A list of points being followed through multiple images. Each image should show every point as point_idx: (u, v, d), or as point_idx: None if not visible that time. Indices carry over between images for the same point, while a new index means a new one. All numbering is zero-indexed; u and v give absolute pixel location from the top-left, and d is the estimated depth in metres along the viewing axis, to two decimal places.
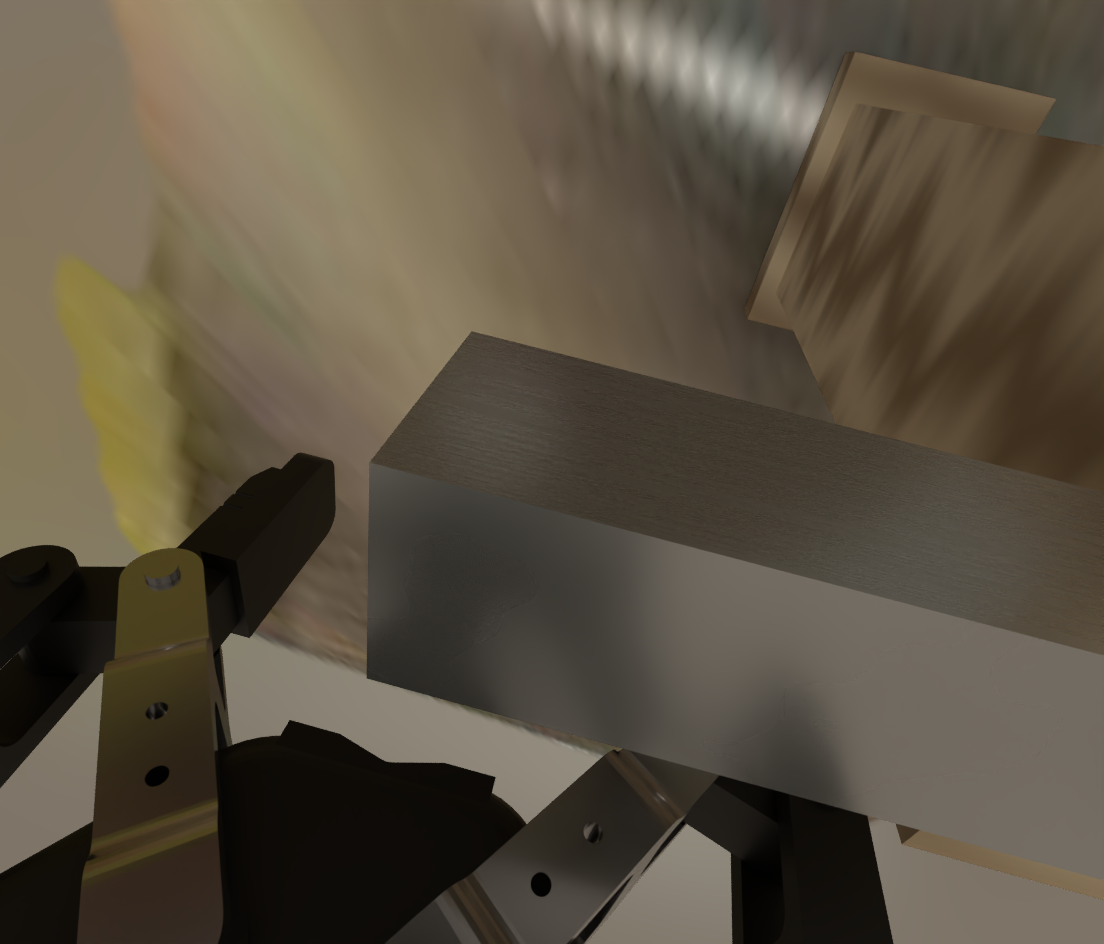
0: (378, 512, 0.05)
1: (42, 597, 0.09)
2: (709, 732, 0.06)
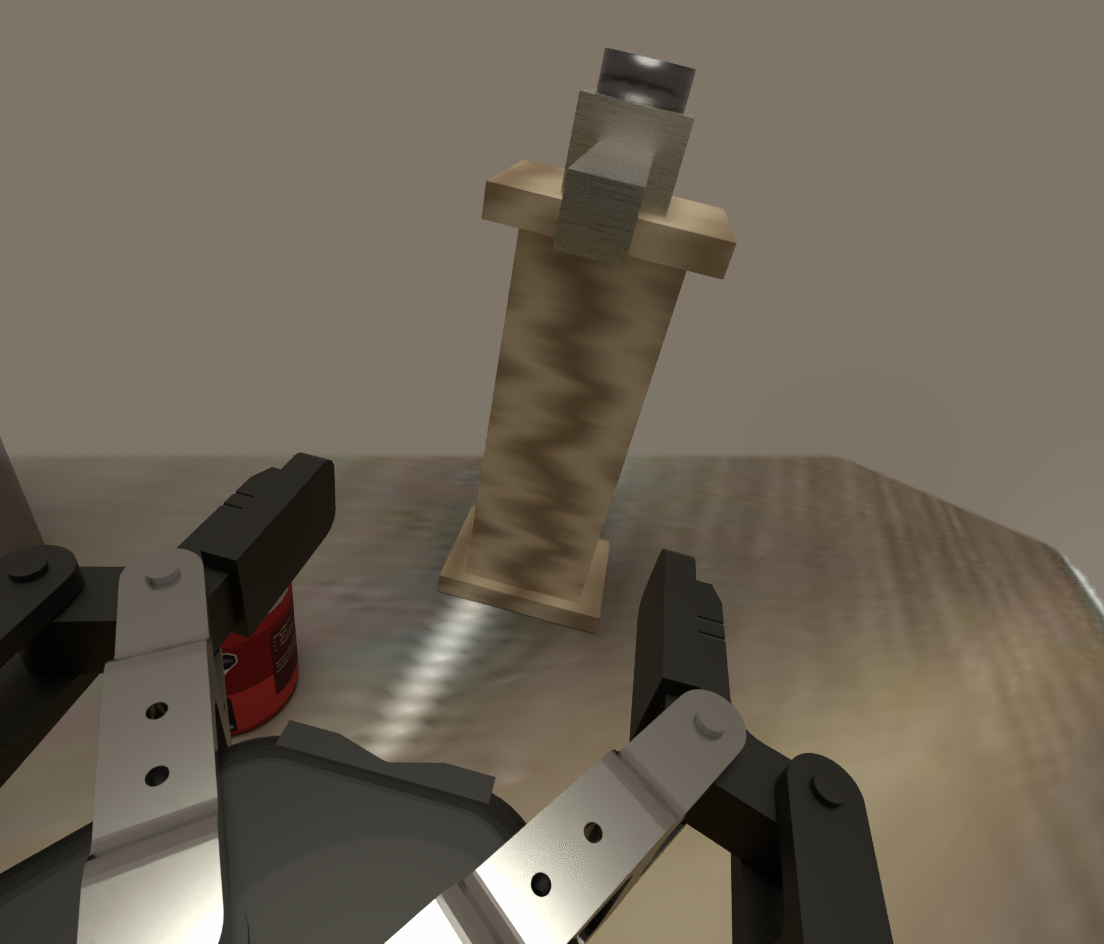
0: (581, 171, 0.22)
1: (42, 597, 0.09)
2: (633, 170, 0.25)
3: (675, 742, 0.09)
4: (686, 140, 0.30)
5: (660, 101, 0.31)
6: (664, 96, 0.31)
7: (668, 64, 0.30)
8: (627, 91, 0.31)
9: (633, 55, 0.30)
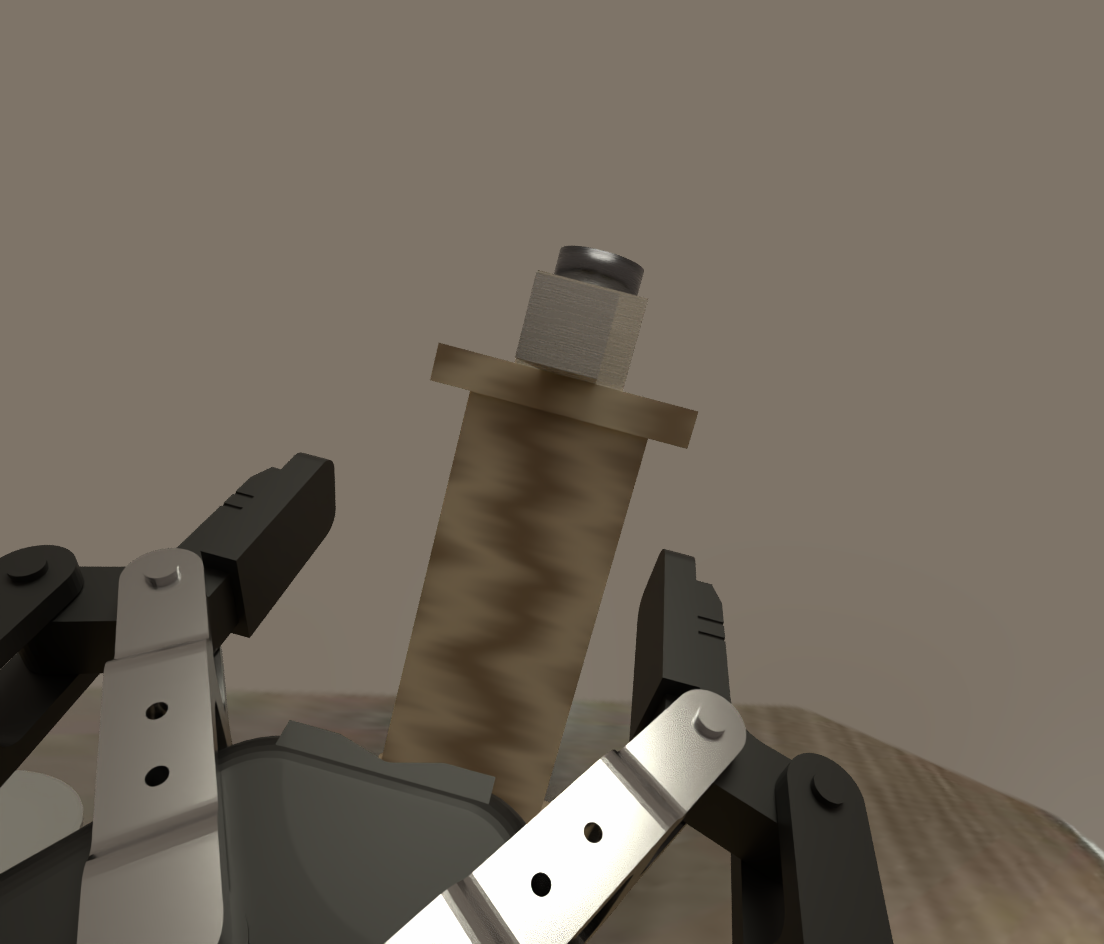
0: (550, 276, 0.20)
1: (42, 597, 0.09)
2: None
3: (675, 742, 0.09)
4: (641, 317, 0.31)
5: (614, 287, 0.32)
6: (617, 284, 0.32)
7: (620, 257, 0.32)
8: (582, 277, 0.32)
9: (588, 248, 0.32)
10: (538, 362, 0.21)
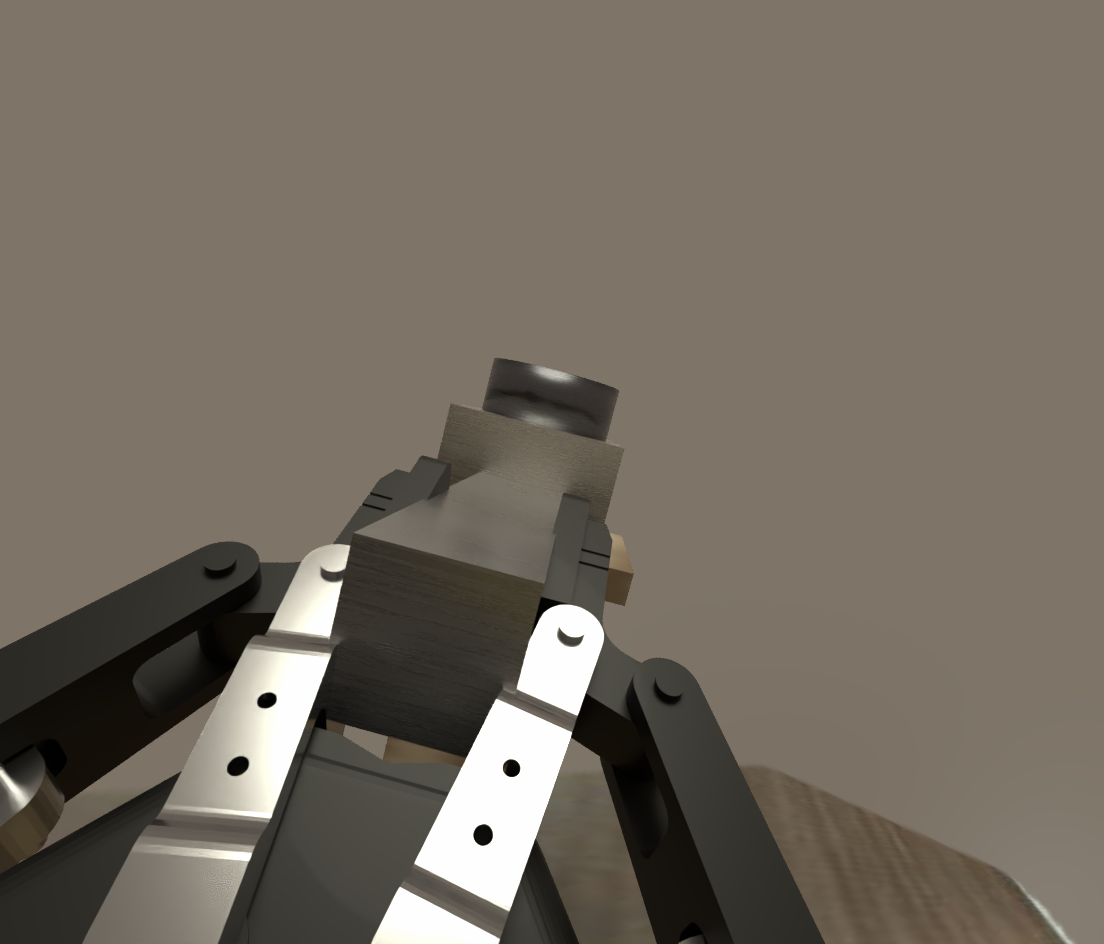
0: (388, 540, 0.09)
1: (237, 590, 0.10)
2: (524, 528, 0.13)
3: (534, 645, 0.10)
4: (614, 476, 0.20)
5: (572, 424, 0.21)
6: (577, 418, 0.21)
7: (581, 379, 0.21)
8: (523, 409, 0.21)
9: (531, 366, 0.21)
10: (364, 726, 0.09)
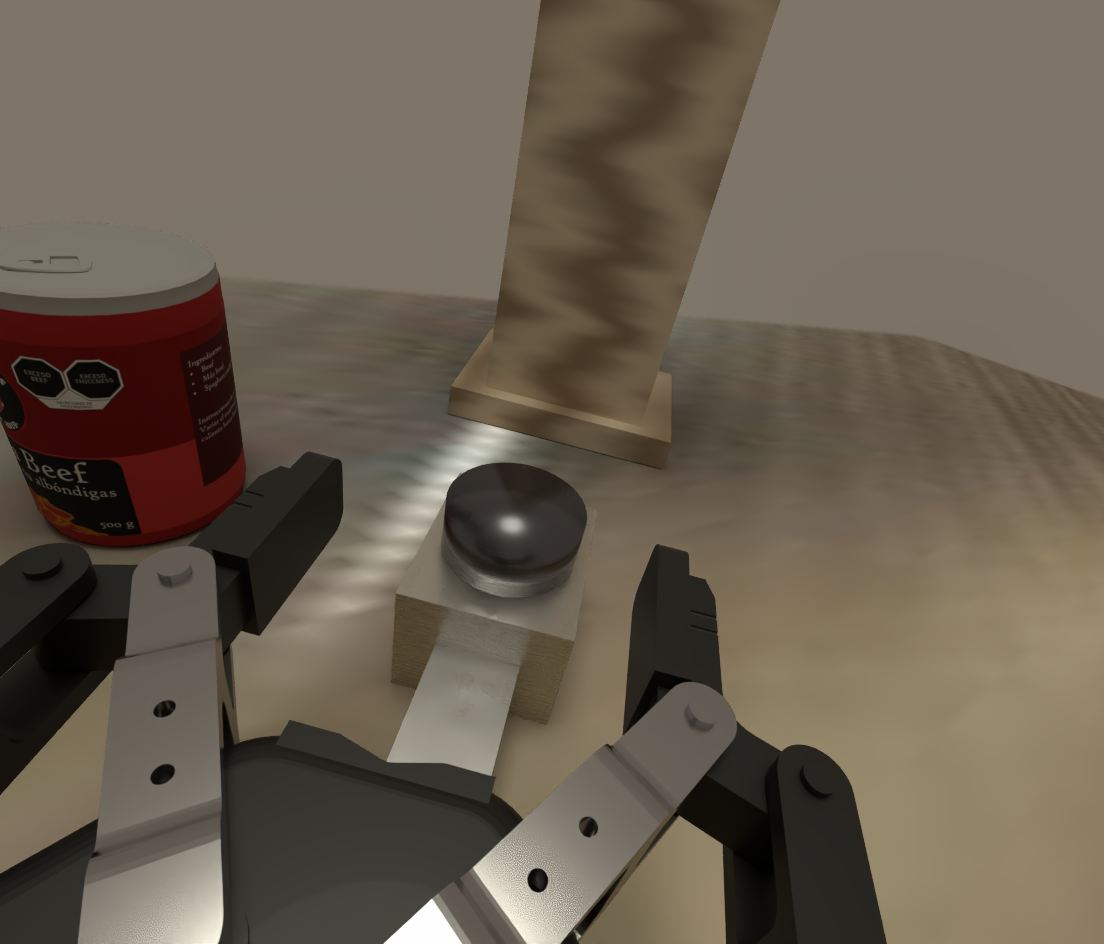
0: None
1: (57, 595, 0.09)
2: None
3: (666, 733, 0.09)
4: (566, 659, 0.20)
5: (527, 591, 0.20)
6: (533, 585, 0.20)
7: (533, 557, 0.19)
8: (475, 578, 0.20)
9: (477, 544, 0.19)
10: None
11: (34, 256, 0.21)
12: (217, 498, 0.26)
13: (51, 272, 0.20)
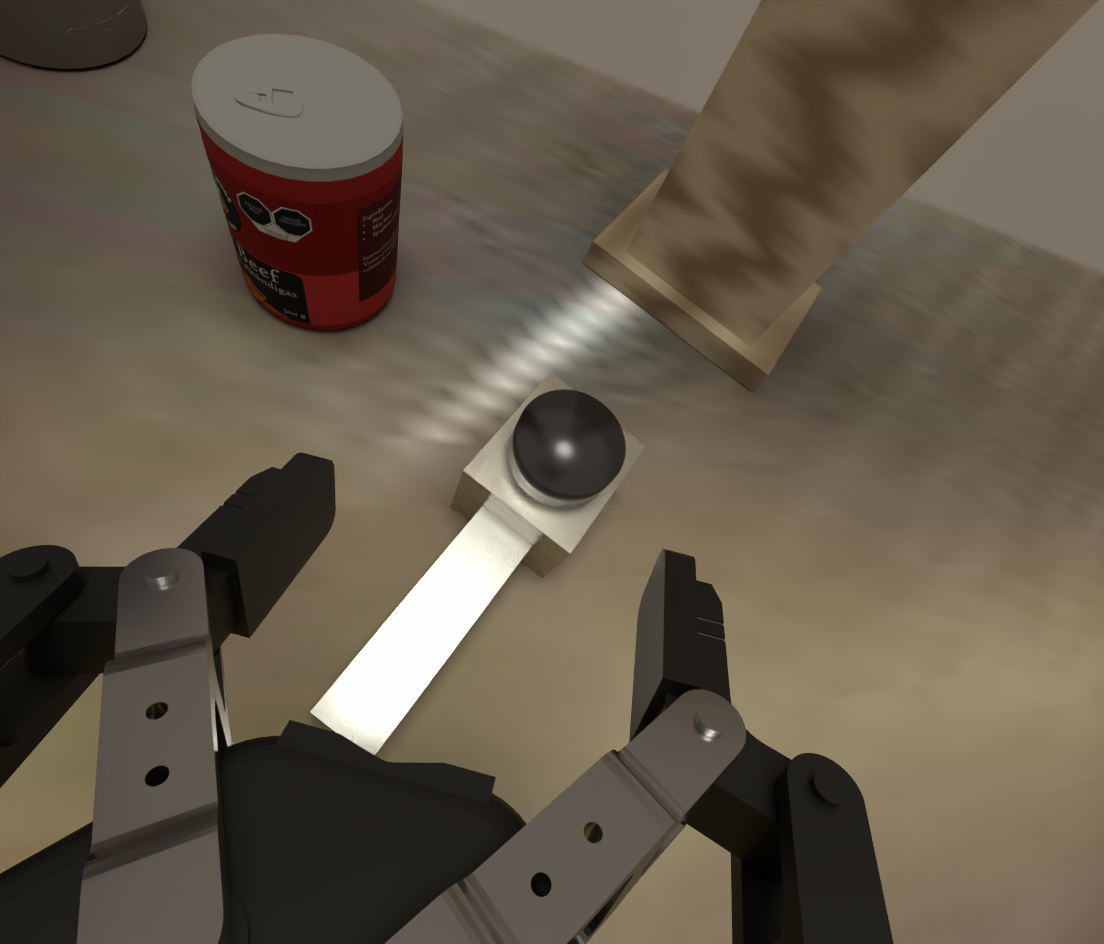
0: (322, 718, 0.23)
1: (42, 597, 0.09)
2: (419, 667, 0.24)
3: (675, 742, 0.09)
4: (562, 558, 0.27)
5: (554, 504, 0.26)
6: (559, 503, 0.26)
7: (562, 491, 0.25)
8: (521, 481, 0.26)
9: (527, 466, 0.25)
10: None
11: (260, 87, 0.24)
12: (367, 309, 0.32)
13: (272, 113, 0.23)
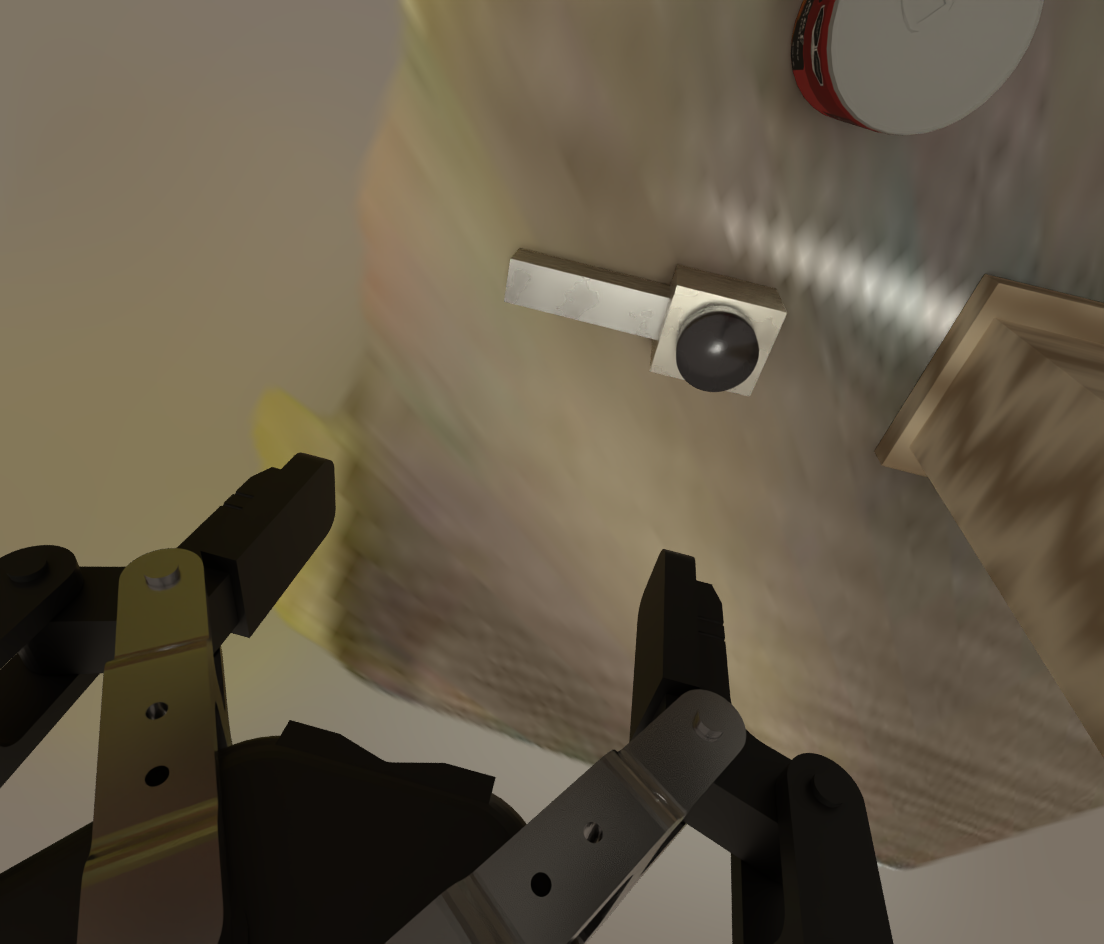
0: (510, 266, 0.40)
1: (42, 597, 0.09)
2: (556, 304, 0.41)
3: (675, 742, 0.09)
4: (650, 364, 0.41)
5: (676, 352, 0.39)
6: None
7: (676, 361, 0.37)
8: (682, 326, 0.38)
9: (683, 334, 0.36)
10: None
11: None
12: (825, 114, 0.33)
13: (904, 6, 0.24)
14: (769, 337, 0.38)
